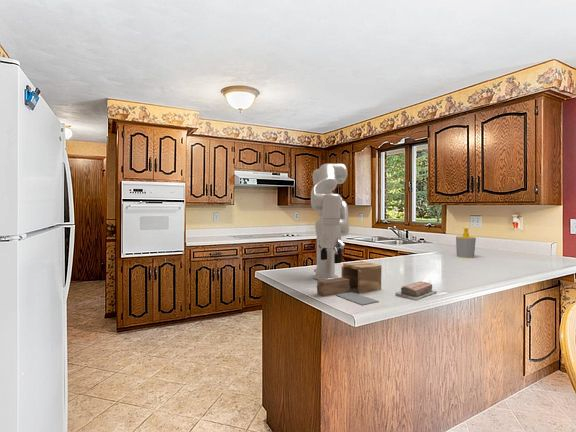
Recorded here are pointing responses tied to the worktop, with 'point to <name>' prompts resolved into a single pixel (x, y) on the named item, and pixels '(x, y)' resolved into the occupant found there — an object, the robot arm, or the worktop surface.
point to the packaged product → (416, 290)
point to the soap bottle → (465, 245)
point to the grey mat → (357, 298)
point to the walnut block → (332, 286)
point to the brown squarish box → (363, 275)
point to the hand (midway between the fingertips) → (330, 261)
